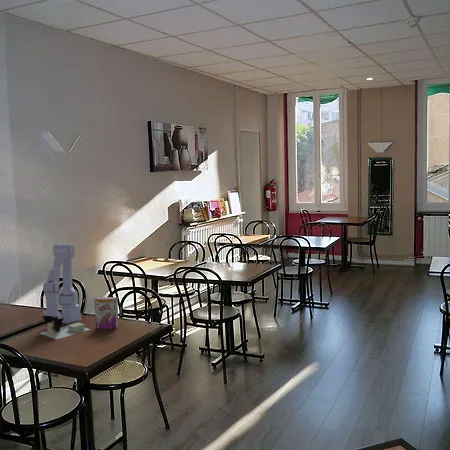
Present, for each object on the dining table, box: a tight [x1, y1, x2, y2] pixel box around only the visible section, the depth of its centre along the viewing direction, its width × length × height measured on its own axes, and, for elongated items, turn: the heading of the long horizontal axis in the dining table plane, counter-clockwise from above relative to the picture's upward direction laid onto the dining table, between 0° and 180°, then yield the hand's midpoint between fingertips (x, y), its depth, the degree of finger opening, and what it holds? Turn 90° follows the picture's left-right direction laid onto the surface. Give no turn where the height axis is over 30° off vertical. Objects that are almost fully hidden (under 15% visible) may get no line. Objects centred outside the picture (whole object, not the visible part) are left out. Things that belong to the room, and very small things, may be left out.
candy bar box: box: [94, 296, 119, 330], centre depth 279 cm, size 11×5×16 cm, turn 84°
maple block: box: [46, 321, 60, 334], centre depth 273 cm, size 4×4×5 cm
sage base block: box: [67, 322, 86, 333], centre depth 275 cm, size 6×6×3 cm
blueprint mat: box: [39, 325, 91, 340], centre depth 274 cm, size 20×16×1 cm
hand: (53, 330), depth 273 cm, fingers open, 7 cm apart
